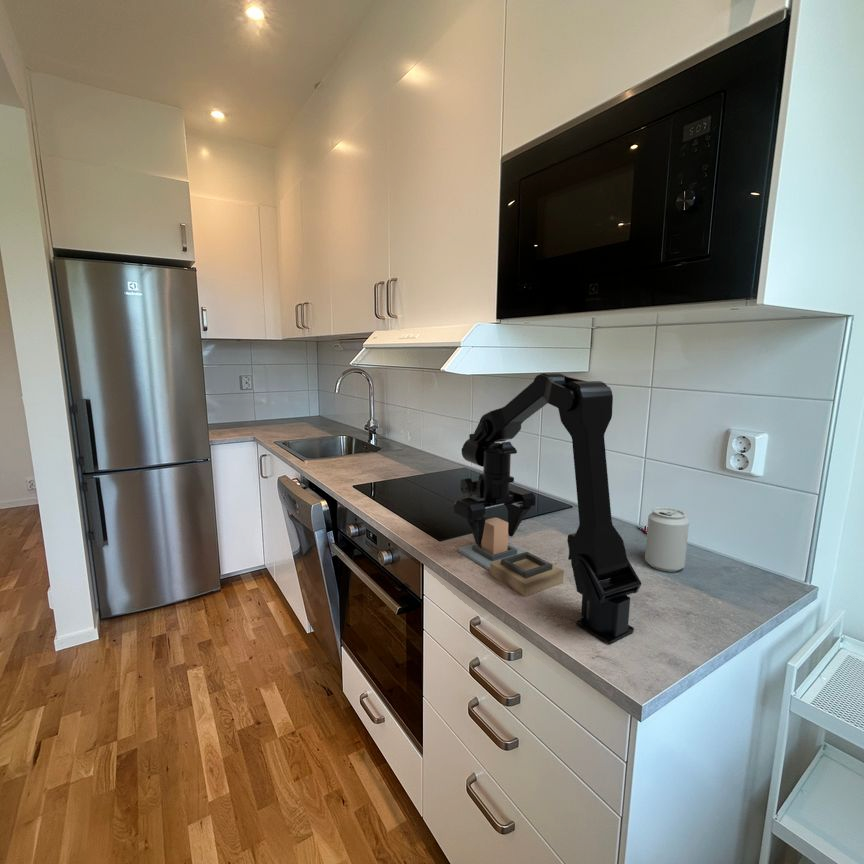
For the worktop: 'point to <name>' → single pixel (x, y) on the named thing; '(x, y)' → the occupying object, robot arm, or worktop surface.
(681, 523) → the can
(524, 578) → the beige square socket
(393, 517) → the worktop surface
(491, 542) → the plug
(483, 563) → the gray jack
